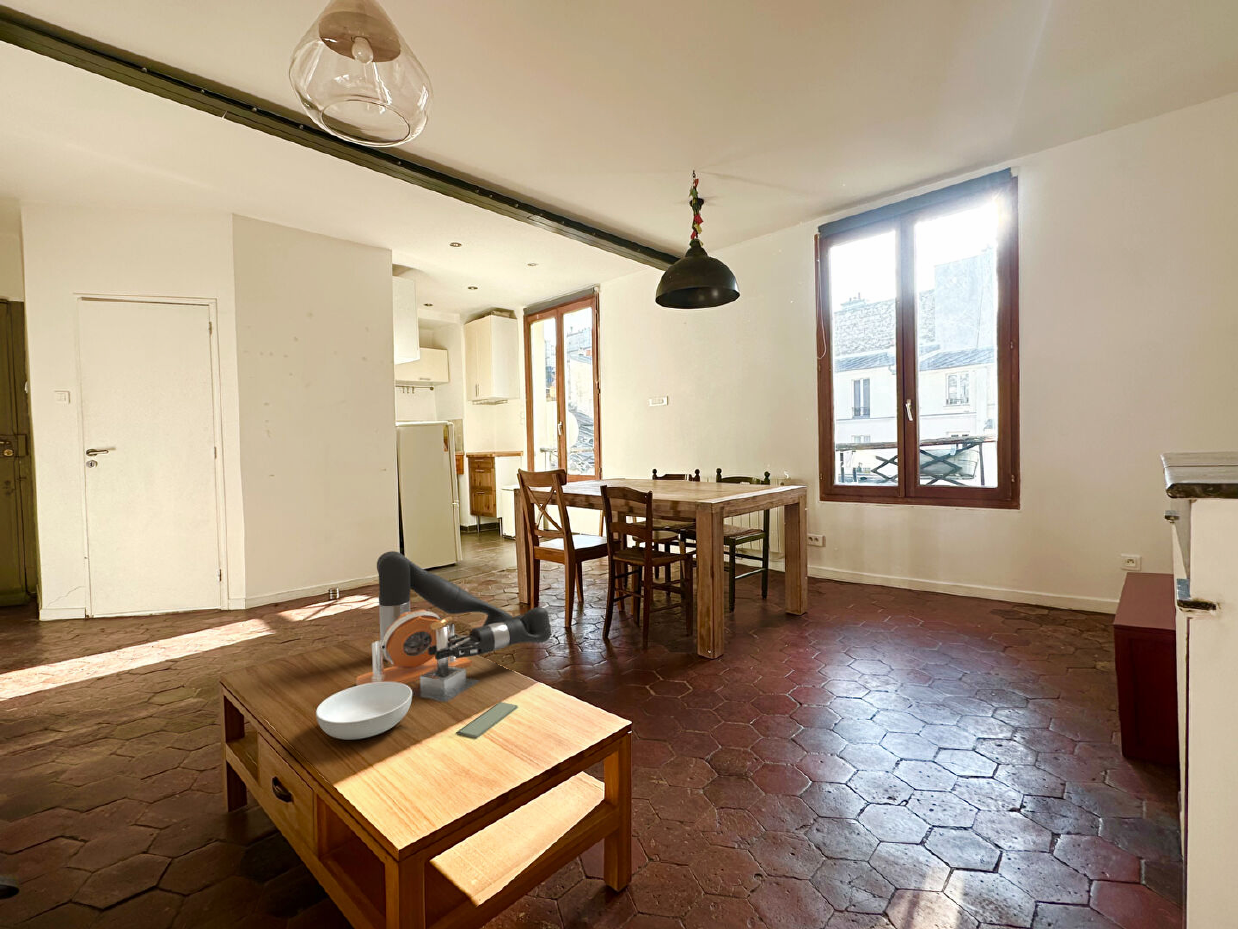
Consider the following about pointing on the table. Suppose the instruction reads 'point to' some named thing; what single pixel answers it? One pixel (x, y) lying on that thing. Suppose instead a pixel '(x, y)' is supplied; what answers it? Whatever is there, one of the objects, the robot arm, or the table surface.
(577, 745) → the table surface
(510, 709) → the rubber mat
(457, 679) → the chuck block
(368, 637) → the table surface
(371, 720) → the serving bowl
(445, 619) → the cylinder
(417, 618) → the desk clock
